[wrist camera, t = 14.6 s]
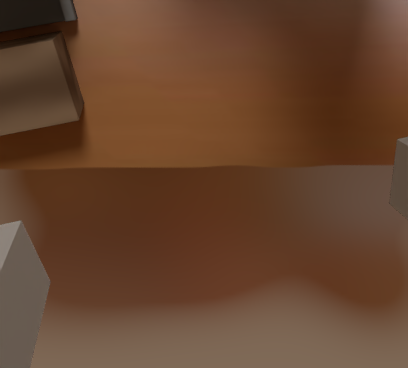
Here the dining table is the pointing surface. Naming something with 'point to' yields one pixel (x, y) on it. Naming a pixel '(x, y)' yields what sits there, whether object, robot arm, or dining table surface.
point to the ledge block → (37, 84)
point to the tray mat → (34, 13)
